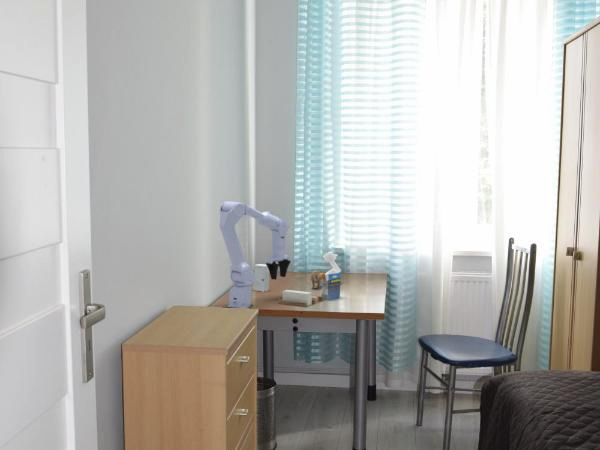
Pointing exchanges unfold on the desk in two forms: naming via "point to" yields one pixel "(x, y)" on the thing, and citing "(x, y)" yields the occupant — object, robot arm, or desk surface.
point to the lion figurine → (317, 278)
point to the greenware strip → (298, 296)
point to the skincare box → (261, 277)
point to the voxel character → (330, 258)
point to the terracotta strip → (315, 298)
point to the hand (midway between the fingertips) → (278, 278)
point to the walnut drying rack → (300, 304)
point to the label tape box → (331, 287)
